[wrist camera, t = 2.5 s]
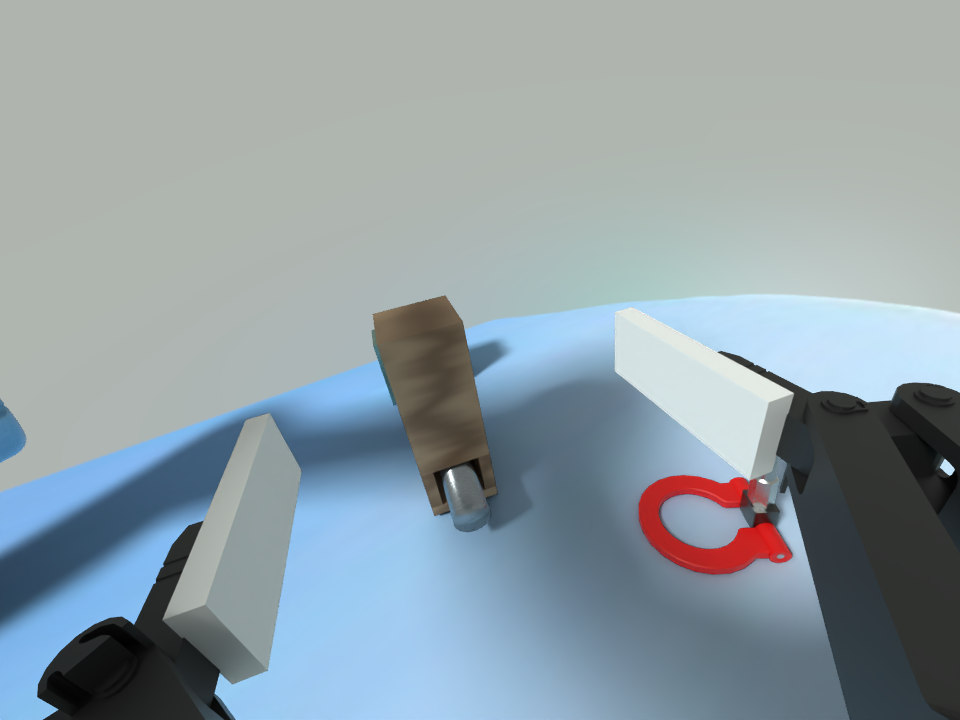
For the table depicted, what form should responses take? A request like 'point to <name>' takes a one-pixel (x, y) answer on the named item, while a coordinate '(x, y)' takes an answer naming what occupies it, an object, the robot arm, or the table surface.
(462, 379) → the sleeve
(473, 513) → the rod stand
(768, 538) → the tow hook
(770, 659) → the table surface
